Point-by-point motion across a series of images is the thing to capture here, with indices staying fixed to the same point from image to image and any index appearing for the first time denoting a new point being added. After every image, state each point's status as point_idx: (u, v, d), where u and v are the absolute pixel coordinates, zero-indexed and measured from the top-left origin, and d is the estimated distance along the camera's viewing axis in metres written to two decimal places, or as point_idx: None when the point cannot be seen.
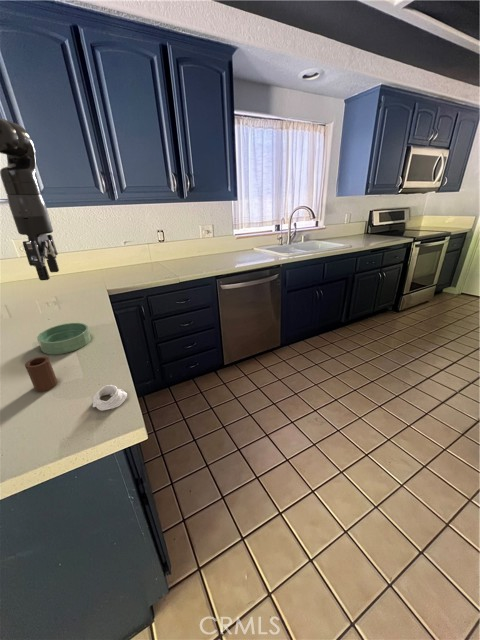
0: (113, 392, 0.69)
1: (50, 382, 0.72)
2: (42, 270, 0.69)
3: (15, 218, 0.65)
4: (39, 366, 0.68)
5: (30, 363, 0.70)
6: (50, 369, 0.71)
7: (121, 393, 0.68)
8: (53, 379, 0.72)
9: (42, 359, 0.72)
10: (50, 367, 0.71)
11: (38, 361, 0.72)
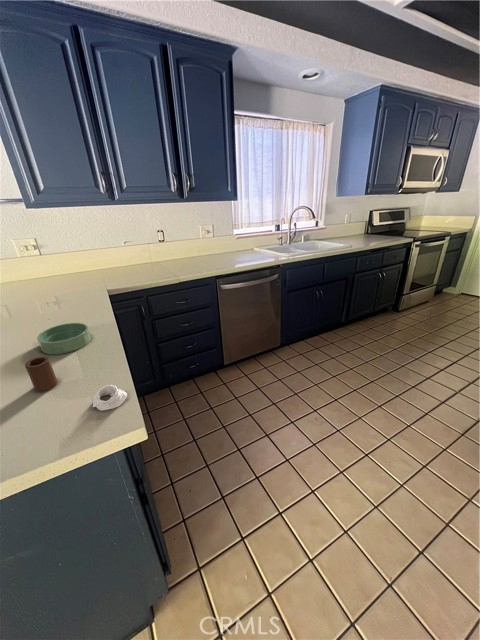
0: (113, 392, 0.69)
1: (50, 382, 0.72)
2: None
3: None
4: (39, 366, 0.68)
5: (30, 363, 0.70)
6: (50, 369, 0.71)
7: (121, 393, 0.68)
8: (53, 379, 0.72)
9: (42, 359, 0.72)
10: (50, 367, 0.71)
11: (38, 361, 0.72)
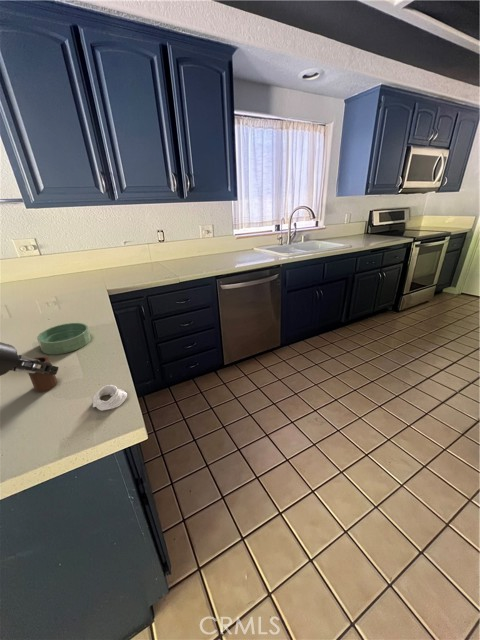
0: (113, 392, 0.69)
1: (50, 382, 0.72)
2: None
3: None
4: None
5: None
6: None
7: (121, 393, 0.68)
8: (53, 379, 0.72)
9: (42, 359, 0.72)
10: None
11: None
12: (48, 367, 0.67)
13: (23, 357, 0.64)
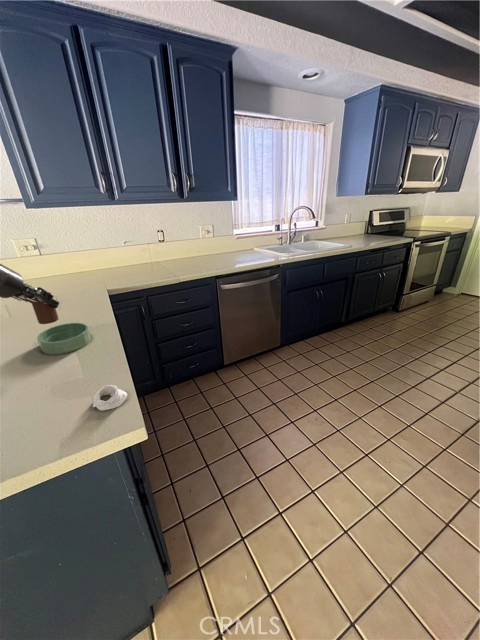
0: (113, 392, 0.69)
1: (52, 314, 0.80)
2: None
3: None
4: None
5: (34, 296, 0.79)
6: None
7: (121, 393, 0.68)
8: (54, 312, 0.81)
9: None
10: None
11: None
12: (50, 297, 0.76)
13: (28, 286, 0.73)
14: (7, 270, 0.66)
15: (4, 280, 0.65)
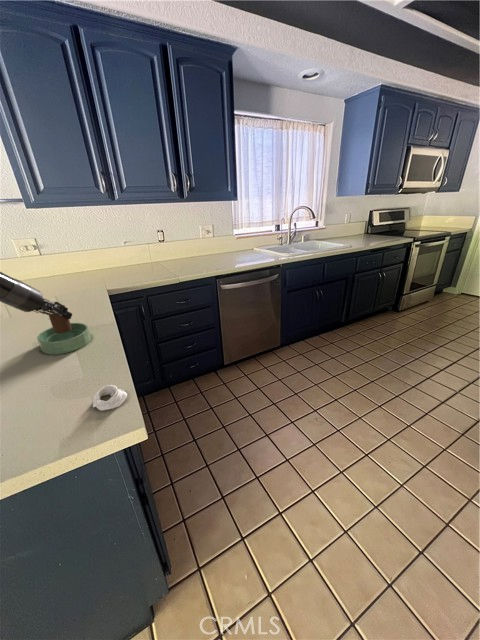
0: (113, 392, 0.69)
1: (66, 324, 0.91)
2: None
3: None
4: None
5: None
6: None
7: (121, 393, 0.68)
8: (68, 323, 0.91)
9: None
10: None
11: None
12: (65, 310, 0.86)
13: (46, 300, 0.83)
14: (29, 288, 0.77)
15: (27, 297, 0.76)
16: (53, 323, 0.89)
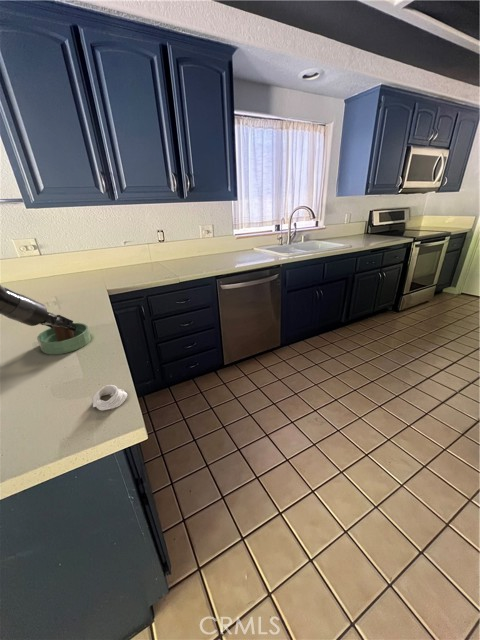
0: (113, 392, 0.69)
1: (70, 338, 0.93)
2: None
3: None
4: None
5: (55, 323, 0.91)
6: None
7: (121, 393, 0.68)
8: (72, 336, 0.94)
9: None
10: None
11: None
12: (70, 322, 0.87)
13: (50, 314, 0.85)
14: (35, 303, 0.79)
15: (32, 312, 0.78)
16: (58, 337, 0.91)
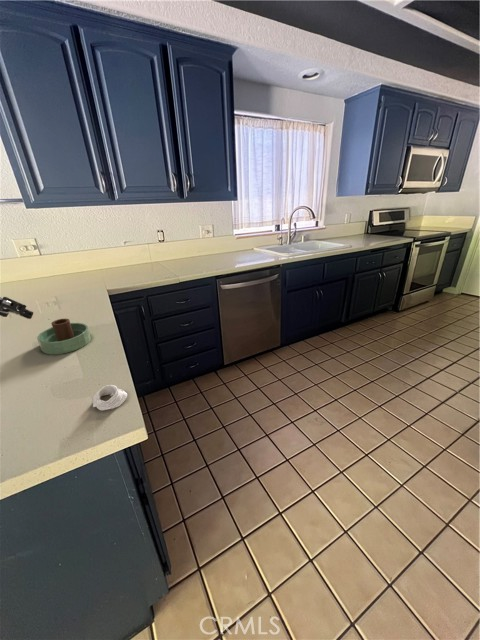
0: (113, 392, 0.69)
1: (70, 338, 0.93)
2: None
3: None
4: (62, 324, 0.90)
5: (55, 323, 0.91)
6: (70, 328, 0.92)
7: (121, 393, 0.68)
8: (72, 336, 0.94)
9: (64, 320, 0.93)
10: (70, 326, 0.93)
11: (61, 322, 0.93)
12: (21, 307, 0.71)
13: None
14: None
15: None
16: (58, 337, 0.91)
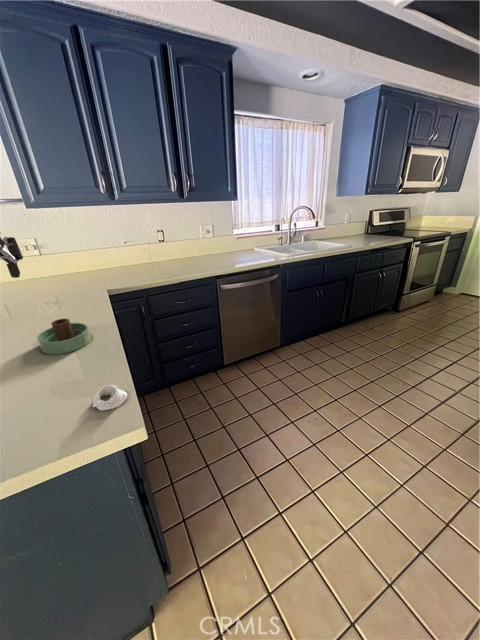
0: (113, 392, 0.69)
1: (70, 338, 0.93)
2: None
3: None
4: (62, 324, 0.90)
5: (55, 323, 0.91)
6: (70, 328, 0.92)
7: (121, 393, 0.68)
8: (72, 336, 0.94)
9: (64, 320, 0.93)
10: (70, 326, 0.93)
11: (61, 322, 0.93)
12: None
13: None
14: None
15: None
16: (58, 337, 0.91)
